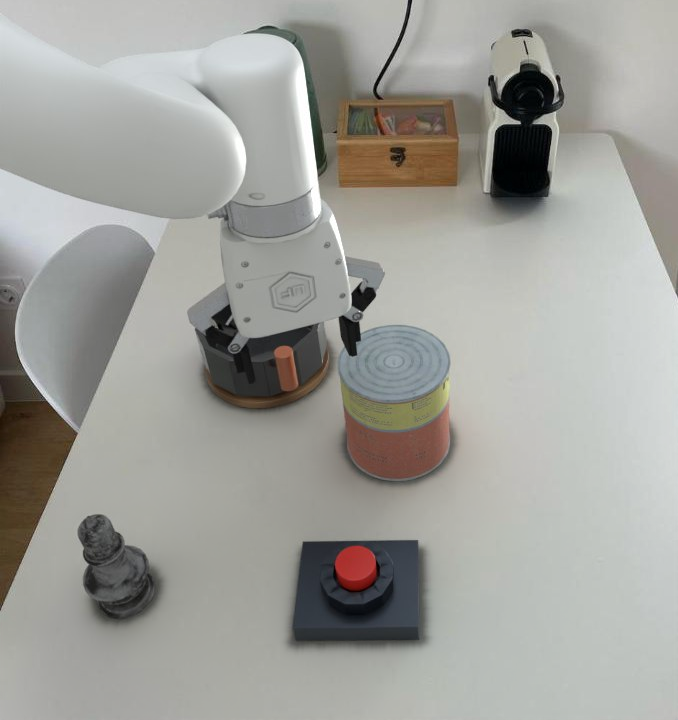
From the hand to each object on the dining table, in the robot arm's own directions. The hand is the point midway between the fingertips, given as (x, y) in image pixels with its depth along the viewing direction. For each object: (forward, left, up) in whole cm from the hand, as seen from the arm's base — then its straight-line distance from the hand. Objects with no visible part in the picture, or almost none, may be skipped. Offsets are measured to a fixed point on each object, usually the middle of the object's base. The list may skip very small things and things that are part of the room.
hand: (299, 360), depth 76 cm
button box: (-3, -16, -16) cm, 22 cm away
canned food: (+9, -1, -16) cm, 19 cm away
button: (-3, -16, -12) cm, 20 cm away
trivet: (+1, +18, -16) cm, 24 cm away
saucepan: (+1, +17, -15) cm, 23 cm away
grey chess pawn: (-22, -5, -16) cm, 27 cm away
